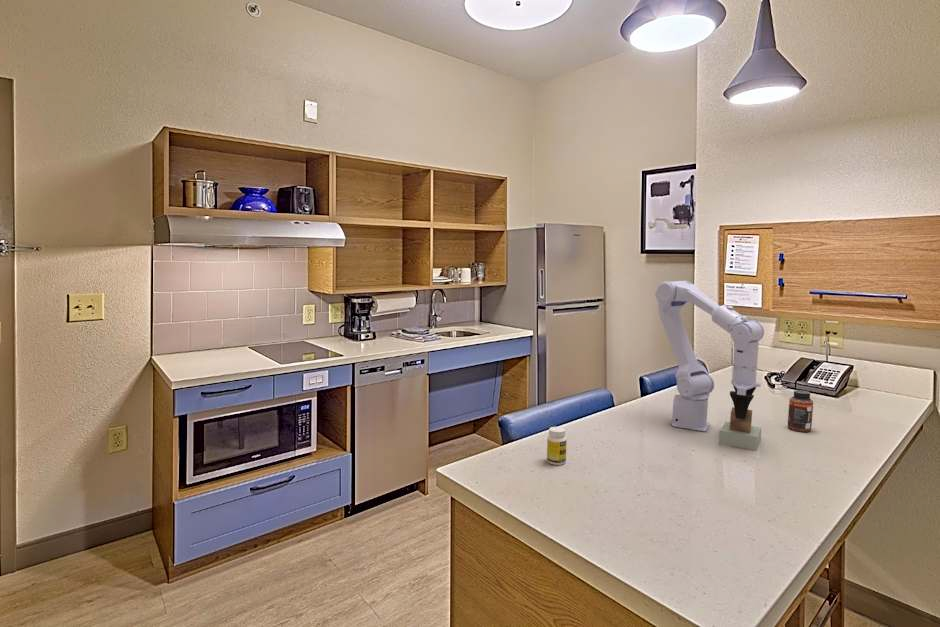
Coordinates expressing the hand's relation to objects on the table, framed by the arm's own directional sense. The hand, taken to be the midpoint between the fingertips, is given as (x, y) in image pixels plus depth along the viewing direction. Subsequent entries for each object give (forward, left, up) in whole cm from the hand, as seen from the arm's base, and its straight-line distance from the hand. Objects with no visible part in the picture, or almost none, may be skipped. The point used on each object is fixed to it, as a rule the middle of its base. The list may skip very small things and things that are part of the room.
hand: (741, 414), depth 144 cm
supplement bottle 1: (-38, -38, -8) cm, 55 cm away
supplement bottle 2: (+14, +20, -8) cm, 26 cm away
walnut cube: (0, 0, -4) cm, 4 cm away
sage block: (0, 0, -8) cm, 8 cm away
